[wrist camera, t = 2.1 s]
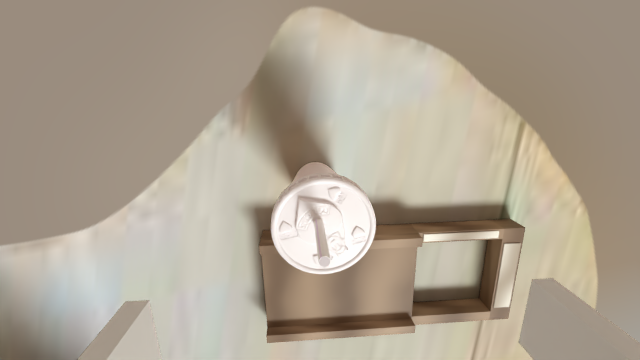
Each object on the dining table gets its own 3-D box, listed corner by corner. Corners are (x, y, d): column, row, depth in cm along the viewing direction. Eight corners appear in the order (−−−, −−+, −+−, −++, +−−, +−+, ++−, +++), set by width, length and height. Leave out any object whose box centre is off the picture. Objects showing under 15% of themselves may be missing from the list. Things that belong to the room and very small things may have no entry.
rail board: (270, 319, 31) (267, 342, 28) (263, 230, 28) (258, 246, 25) (495, 305, 32) (514, 325, 29) (510, 218, 29) (533, 232, 27)
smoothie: (323, 132, 26) (349, 175, 12) (364, 188, 28) (426, 279, 14) (264, 175, 27) (230, 260, 13) (308, 228, 28) (316, 350, 15)
